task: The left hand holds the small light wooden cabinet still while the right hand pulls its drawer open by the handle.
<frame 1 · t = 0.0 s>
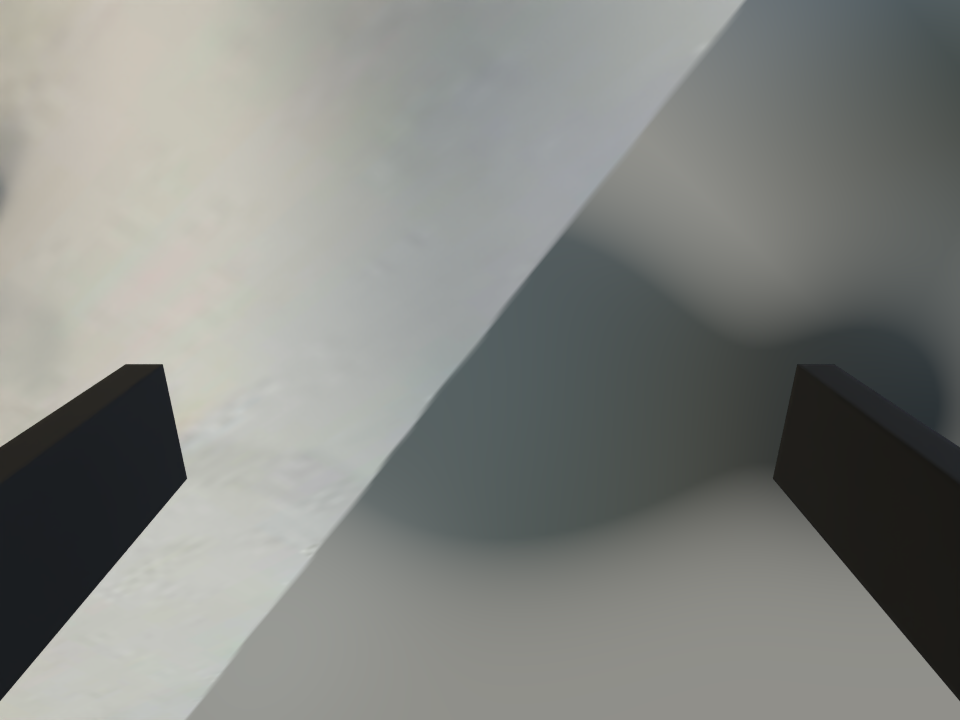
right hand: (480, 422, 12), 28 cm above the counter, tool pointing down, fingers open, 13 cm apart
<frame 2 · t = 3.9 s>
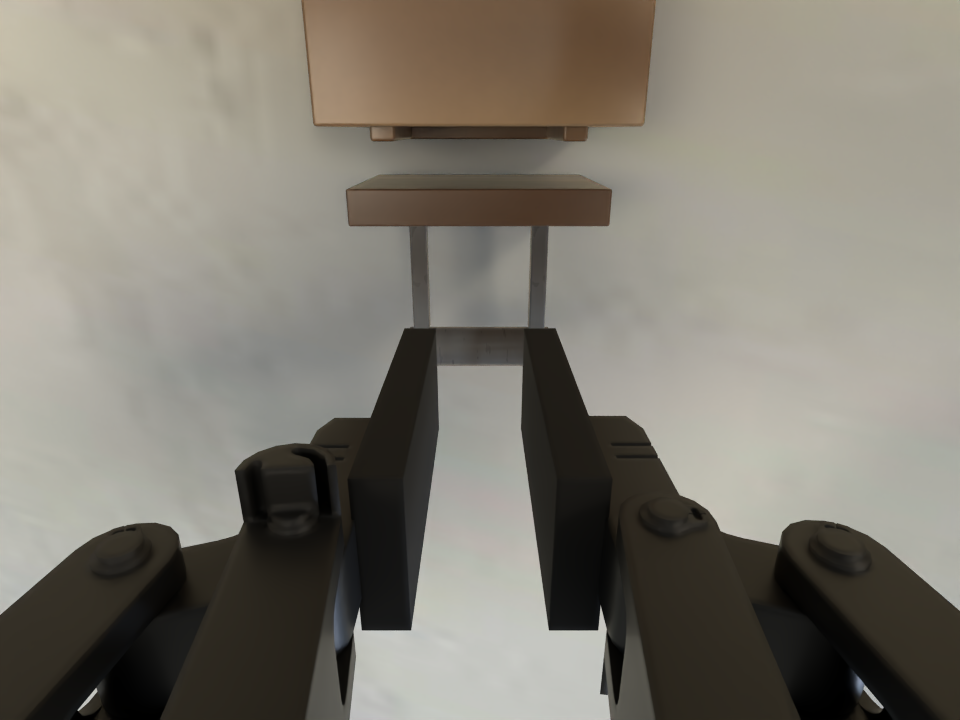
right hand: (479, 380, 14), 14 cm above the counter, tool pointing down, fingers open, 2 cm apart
drawer: (478, 20, 20), point 4 cm above the counter, slide at 1.9 cm
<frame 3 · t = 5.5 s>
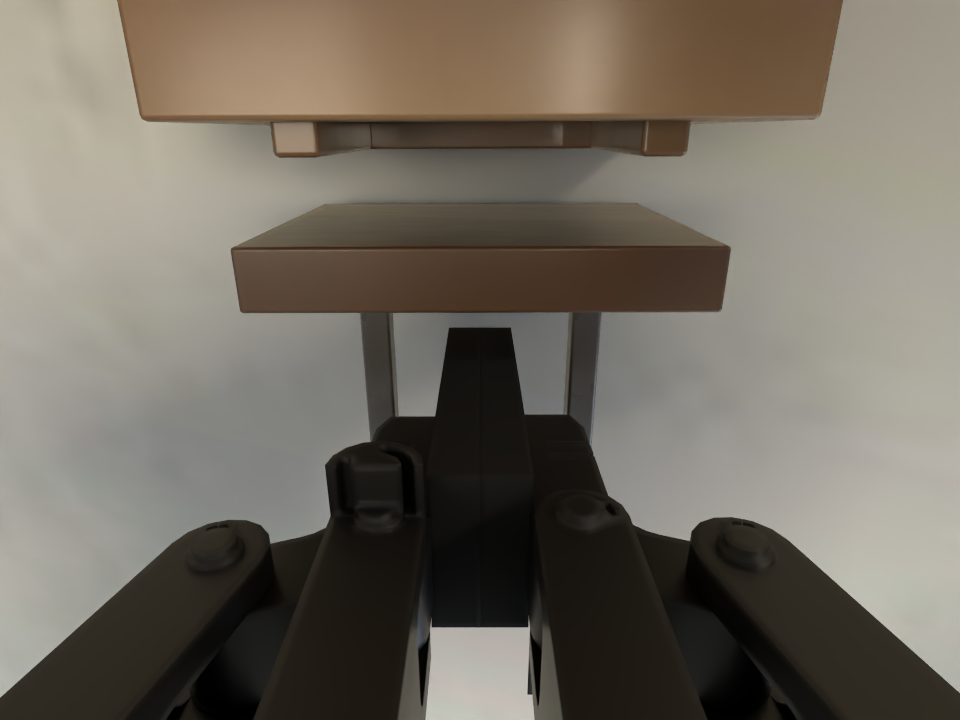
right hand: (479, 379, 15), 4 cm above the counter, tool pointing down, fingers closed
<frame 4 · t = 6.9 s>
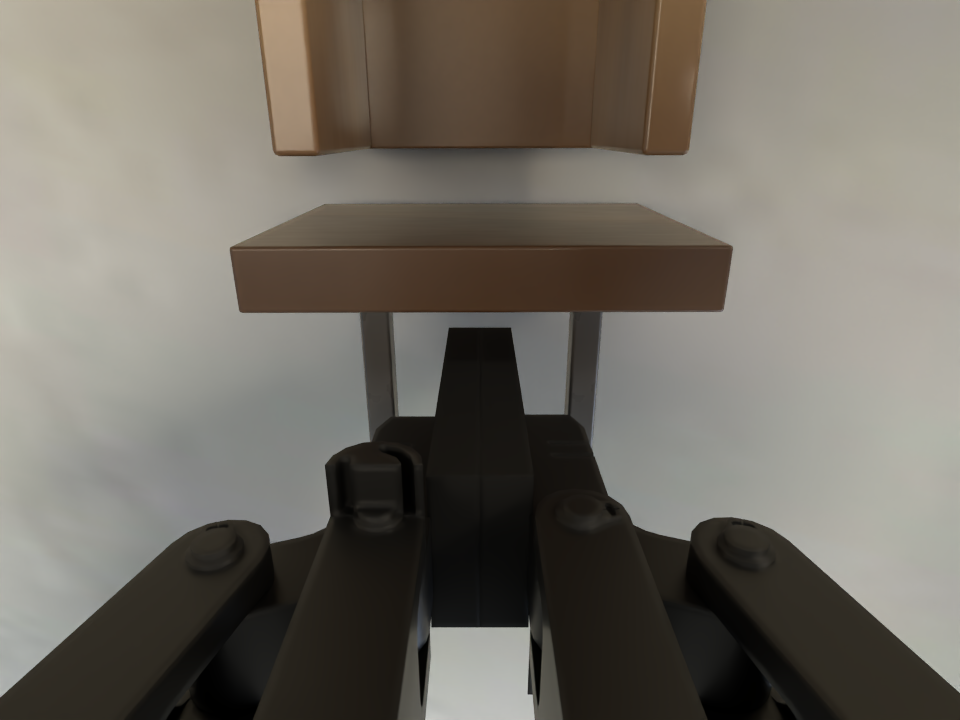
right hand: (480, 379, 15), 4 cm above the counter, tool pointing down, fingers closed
when the left hand's fingers open (3 cm above the counter, at t = 8.7 s): cabinet stays where it is, on the counter.
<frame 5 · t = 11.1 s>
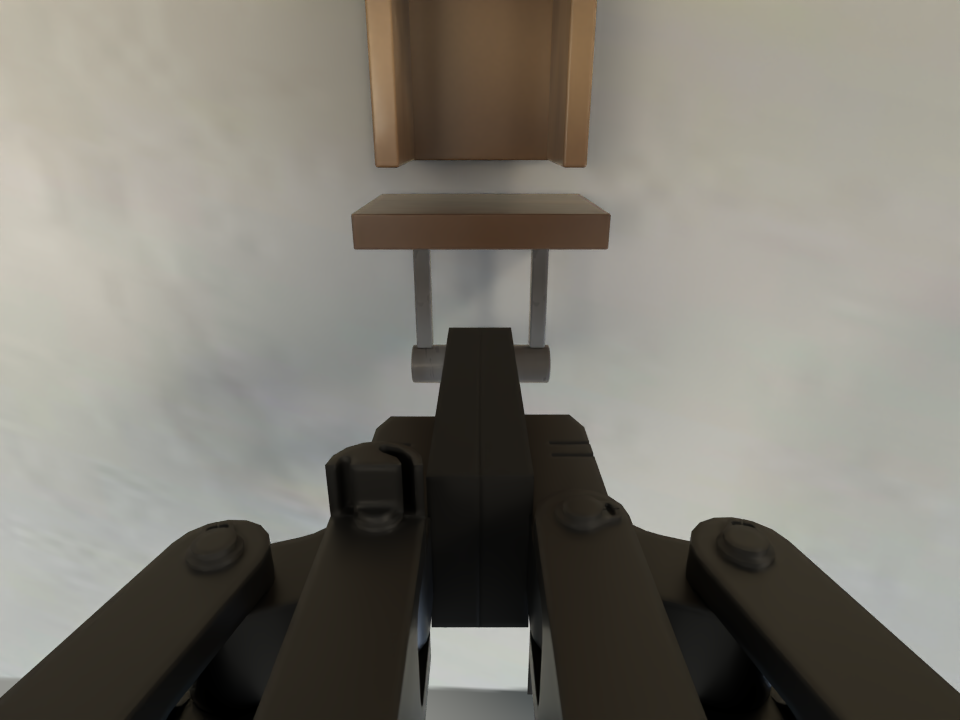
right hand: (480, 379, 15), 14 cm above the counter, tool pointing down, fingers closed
drawer: (480, 48, 21), point 4 cm above the counter, slide at 8.6 cm
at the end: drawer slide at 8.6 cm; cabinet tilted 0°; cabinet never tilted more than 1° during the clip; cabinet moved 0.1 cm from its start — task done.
